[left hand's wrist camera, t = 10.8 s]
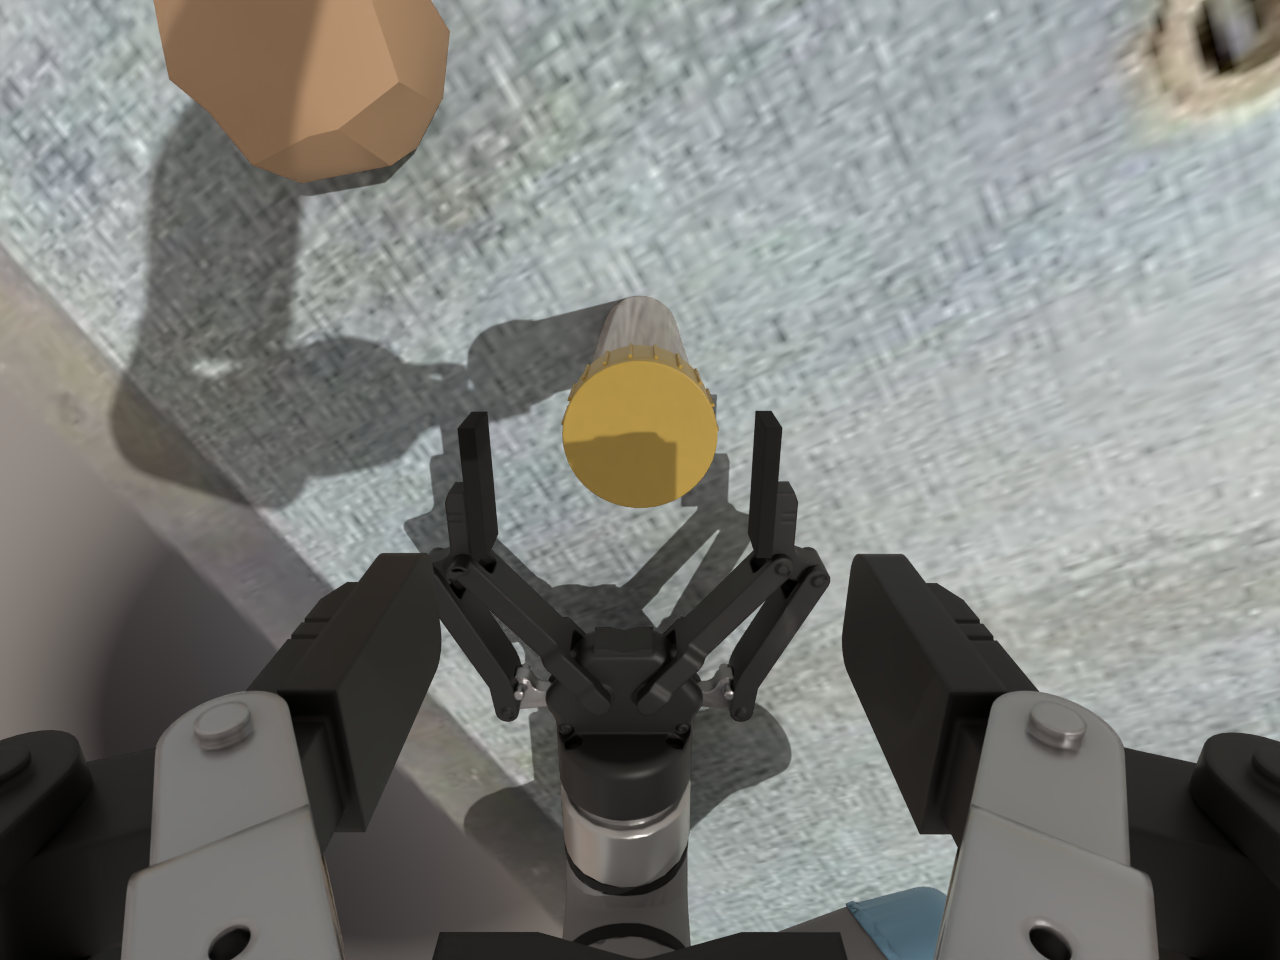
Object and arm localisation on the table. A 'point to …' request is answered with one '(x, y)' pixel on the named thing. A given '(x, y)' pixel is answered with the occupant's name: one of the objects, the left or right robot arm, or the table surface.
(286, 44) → the squash
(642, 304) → the jar
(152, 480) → the table surface
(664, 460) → the lid
